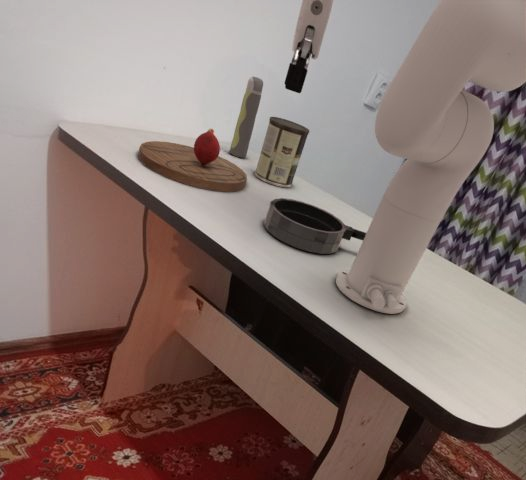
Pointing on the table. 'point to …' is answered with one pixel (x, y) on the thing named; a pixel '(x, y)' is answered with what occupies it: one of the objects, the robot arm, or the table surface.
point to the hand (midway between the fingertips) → (292, 88)
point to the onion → (206, 147)
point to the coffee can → (281, 152)
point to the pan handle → (353, 233)
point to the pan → (304, 226)
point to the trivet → (191, 167)
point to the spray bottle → (247, 118)
